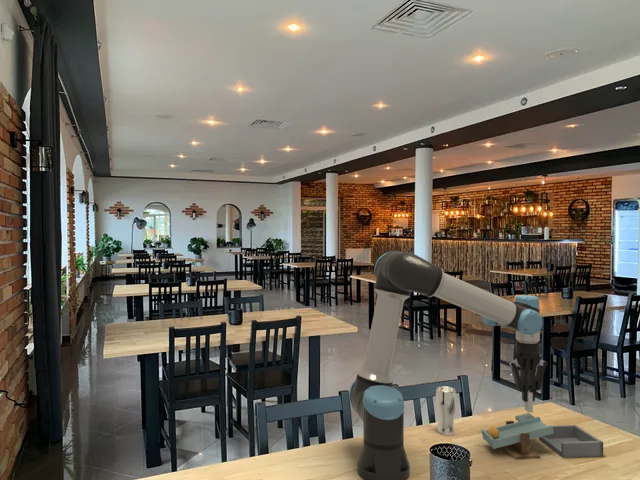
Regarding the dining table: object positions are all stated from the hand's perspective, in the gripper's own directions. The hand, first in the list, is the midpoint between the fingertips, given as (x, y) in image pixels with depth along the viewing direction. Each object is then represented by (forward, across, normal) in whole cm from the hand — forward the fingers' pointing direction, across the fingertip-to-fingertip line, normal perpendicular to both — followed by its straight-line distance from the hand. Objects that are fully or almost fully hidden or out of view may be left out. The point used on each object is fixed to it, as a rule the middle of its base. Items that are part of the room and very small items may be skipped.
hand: (528, 410), depth 162 cm
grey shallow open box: (+10, +10, -8) cm, 16 cm away
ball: (+4, -16, -8) cm, 18 cm away
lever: (+5, -8, -4) cm, 10 cm away
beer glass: (+10, -26, +8) cm, 29 cm away
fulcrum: (+10, -8, -8) cm, 14 cm away
